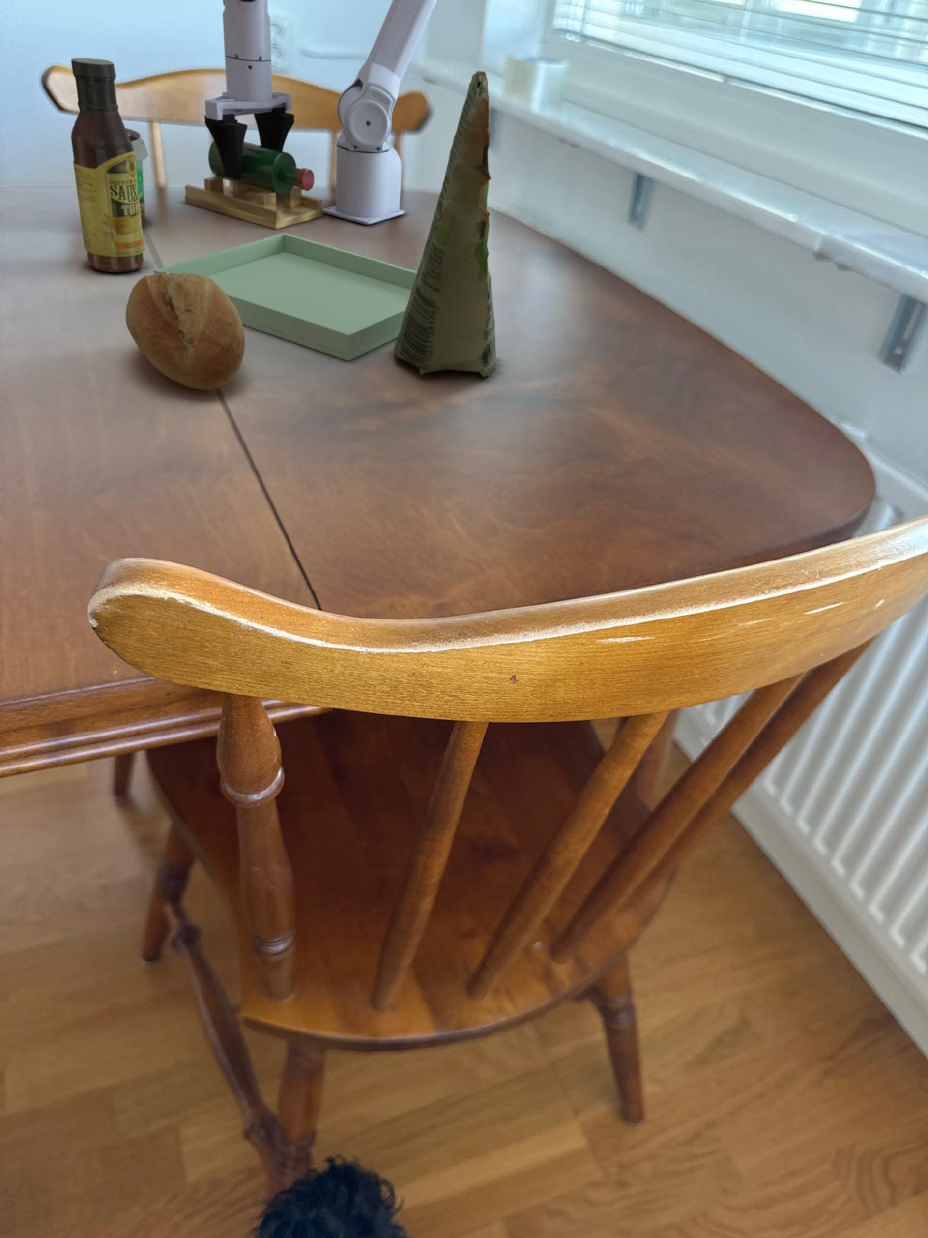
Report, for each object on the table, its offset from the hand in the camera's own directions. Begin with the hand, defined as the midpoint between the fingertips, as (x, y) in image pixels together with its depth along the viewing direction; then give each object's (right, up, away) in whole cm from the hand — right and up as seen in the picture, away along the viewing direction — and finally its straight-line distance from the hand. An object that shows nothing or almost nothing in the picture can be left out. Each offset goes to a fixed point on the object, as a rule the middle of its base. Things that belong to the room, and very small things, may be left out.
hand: (252, 174), depth 121 cm
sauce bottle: (-10, -21, -20) cm, 31 cm away
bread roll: (+4, -38, -40) cm, 55 cm away
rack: (0, -4, +3) cm, 4 cm away
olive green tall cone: (+27, -35, -33) cm, 55 cm away
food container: (-14, -11, -8) cm, 19 cm away
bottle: (+2, -2, 0) cm, 2 cm away
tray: (+12, -26, -23) cm, 37 cm away
